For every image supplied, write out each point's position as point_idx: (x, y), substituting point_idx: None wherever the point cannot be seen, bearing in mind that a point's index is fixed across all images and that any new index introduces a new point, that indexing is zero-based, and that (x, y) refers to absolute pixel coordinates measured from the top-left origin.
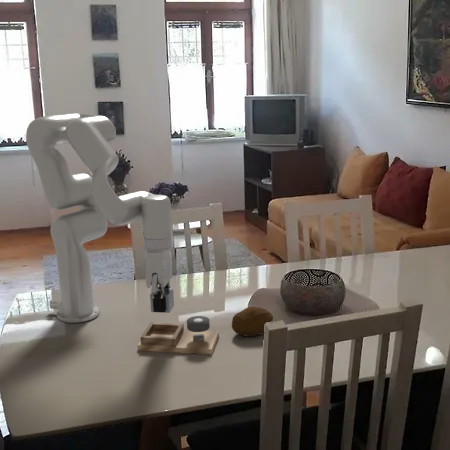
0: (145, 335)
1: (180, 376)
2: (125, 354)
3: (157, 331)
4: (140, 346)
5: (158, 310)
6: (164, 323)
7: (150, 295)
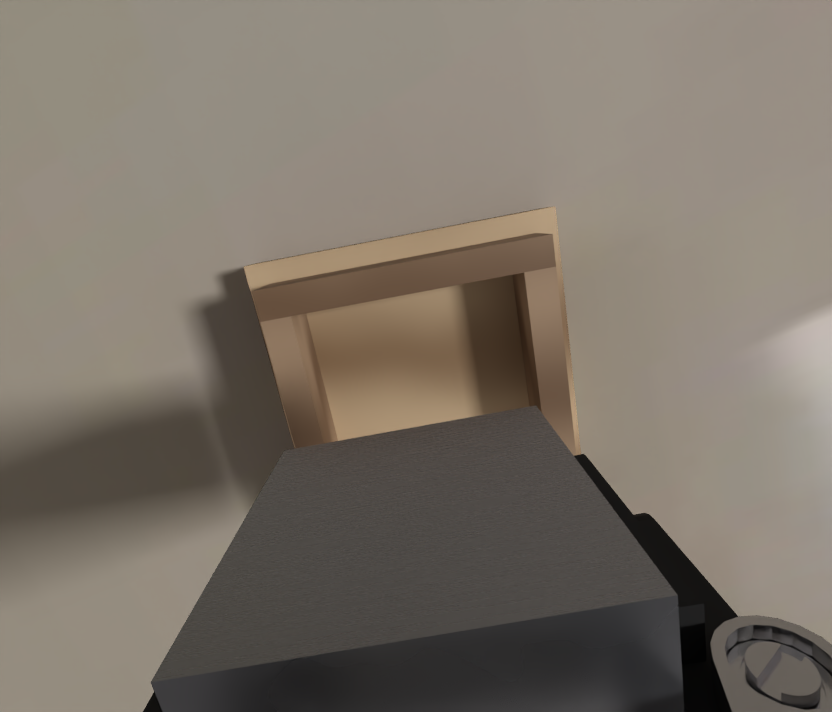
0: (300, 314)
1: (93, 618)
2: (170, 209)
3: (506, 305)
4: (253, 289)
5: None
6: (560, 361)
7: (166, 667)
